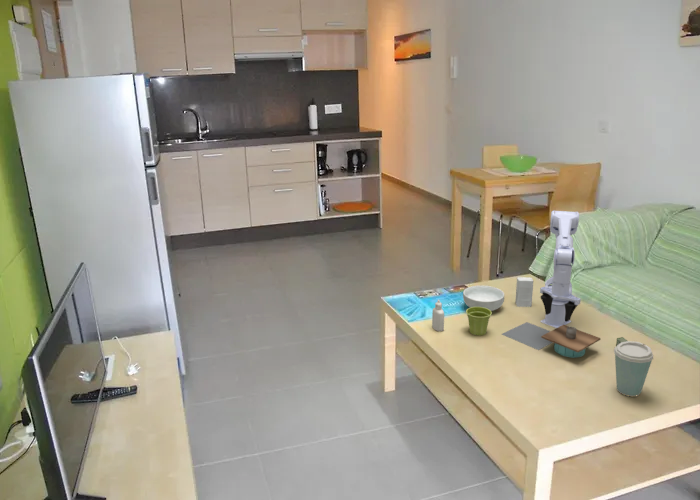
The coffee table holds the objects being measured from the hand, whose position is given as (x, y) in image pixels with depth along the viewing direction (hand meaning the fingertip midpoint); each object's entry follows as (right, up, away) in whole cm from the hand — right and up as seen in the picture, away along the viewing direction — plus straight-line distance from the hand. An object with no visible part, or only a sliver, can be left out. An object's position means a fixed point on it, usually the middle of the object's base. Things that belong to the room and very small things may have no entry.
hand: (557, 317), depth 195 cm
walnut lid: (+3, -7, -5) cm, 9 cm away
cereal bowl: (-19, -1, +33) cm, 38 cm away
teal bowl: (+3, -12, -3) cm, 12 cm away
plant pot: (-26, -8, +12) cm, 29 cm away
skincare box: (-1, 0, +35) cm, 35 cm away
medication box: (+23, -13, -6) cm, 27 cm away
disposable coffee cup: (+11, -20, -27) cm, 35 cm away
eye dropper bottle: (-40, -7, +16) cm, 44 cm away
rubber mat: (-6, -8, +8) cm, 13 cm away
